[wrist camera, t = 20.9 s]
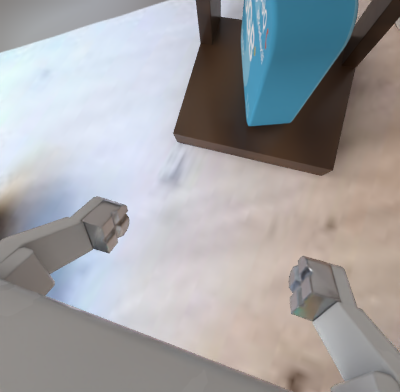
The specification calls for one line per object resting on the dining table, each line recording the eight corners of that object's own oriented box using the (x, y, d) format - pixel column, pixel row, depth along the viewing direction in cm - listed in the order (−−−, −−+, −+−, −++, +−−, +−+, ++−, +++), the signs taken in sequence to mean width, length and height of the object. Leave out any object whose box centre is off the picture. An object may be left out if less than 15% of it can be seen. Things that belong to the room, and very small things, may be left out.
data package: (239, 37, 24) (258, -138, 12) (278, 32, 24) (335, -154, 12) (247, 131, 23) (275, 33, 11) (288, 128, 22) (365, 22, 10)
